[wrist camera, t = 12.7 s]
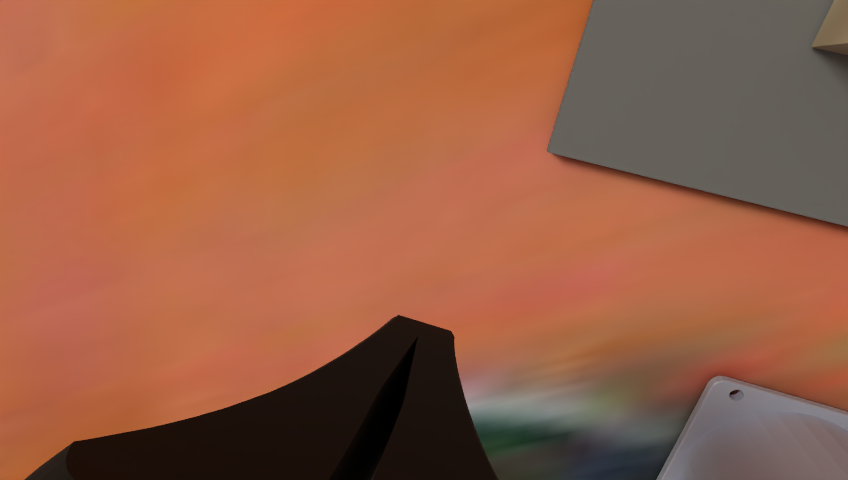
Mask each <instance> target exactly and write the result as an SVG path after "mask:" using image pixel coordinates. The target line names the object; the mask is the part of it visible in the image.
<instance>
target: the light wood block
mask: <svg viewBox="0 0 848 480" xmlns="http://www.w3.org/2000/svg"><path fill="white" fill-rule="evenodd" d="M811 47H813V48H818V49H822V50H826V51H831V52H835V53H840V54H844V55H848V0H834V2H833V4H832V6H831V8H830V10H829V12H828V14H827V16H826V18H825V20H824V22H823V24H822V26H821V28H820V30H819V32H818V34H817V36H816V38H815V40H814V42H813V44H812V46H811Z"/></svg>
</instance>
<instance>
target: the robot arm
mask: <svg viewBox="0 0 848 480" xmlns="http://www.w3.org/2000/svg"><path fill="white" fill-rule="evenodd" d="M733 390H739V392H738V393H737V394H734V395H731V394H730V392H731V391H733ZM379 462H380V463H379ZM376 469H377V470H376ZM375 471H376V472H375ZM374 473H375V474H374ZM373 475H374V477H373ZM372 477H373V479H372ZM25 480H498V478H497V476H496V474H495V472H494V470H493V468H492V466H491V464H490V462H489V460H488V458H487V456H486V453H485V451H484V449H483V447H482V444H481V442H480V440H479V437H478V435H477V432H476V429H475V427H474V424H473V421H472V418H471V415H470V413H469V410H468V407H467V403H466V400H465V397H464V393H463V389H462V385H461V382H460V378H459V373H458V369H457V363H456V357H455V349H454V335H453V334H452V332H451V331H449V330H446V329H443V328H439V327H436V326H433V325H429V324H426V323H423V322H420V321H416V320H413V319H410V318H407V317H403V316H400V315H398V316H396V317H394V318H392V319H391V320H390V321H389V322H387V323H386V324H385V325H384V326H383V327H381V328H380V329H379V330H377V331H376V332H375V333H373V334H372V335H371V336H369V337H368V338H367V339H365V340H364V341H362V342H361V343H359V344H358V345H356V346H355V347H353V348H352V349H350V350H349V351H347V352H346V353H344V354H343V355H341V356H339V357H338V358H336V359H334V360H333V361H331V362H329V363H327V364H326V365H324V366H322V367H320V368H319V369H317V370H315V371H313V372H312V373H310V374H308V375H306V376H304V377H302V378H300V379H298V380H296V381H294V382H292V383H289V384H287V385H285V386H283V387H281V388H278V389H276V390H274V391H271V392H269V393H266V394H263V395H261V396H258V397H255V398H252V399H250V400H247V401H244V402H241V403H238V404H236V405H233V406H230V407H227V408H224V409H221V410H217V411H214V412H210V413H207V414H203V415H200V416H197V417H193V418H189V419H185V420H181V421H177V422H173V423H169V424H165V425H160V426H156V427H151V428H147V429H141V430H136V431H131V432H125V433H120V434H115V435H109V436H104V437H99V438H94V439H87V440H81V441H75V442H73V443H72V444H70V445H69V446H68V447H66V448H65V449H63V450H62V451H61V452H59V453H58V454H57V455H55V456H54V457H53V458H51V459H50V460H48V461H47V462H46V463H44V464H43V465H42V466H40V467H39V468H38V469H37V470H35V471H34V472H33V473H32V474H31V475H29V476H28V477H27V478H26V479H25ZM656 480H848V411H844V410H841V409H837V408H834V407H830V406H827V405H823V404H820V403H817V402H813V401H810V400H806V399H803V398H799V397H796V396H792V395H789V394H785V393H782V392H778V391H775V390H771V389H768V388H764V387H761V386H757V385H754V384H750V383H747V382H744V381H740V380H737V379H733V378H730V377H726V376H716V377H714V378H712V379H711V380H710V381H709V382H708V383H707V385H706V387H705V389H704V391H703V393H702V395H701V397H700V398H699V400H698V402H697V404H696V406H695V408H694V410H693V412H692V413H691V415H690V417H689V419H688V421H687V423H686V425H685V427H684V428H683V430H682V432H681V434H680V436H679V438H678V440H677V442H676V444H675V445H674V447H673V449H672V451H671V453H670V455H669V457H668V459H667V460H666V462H665V464H664V466H663V468H662V470H661V472H660V474H659V476H658V477H657V479H656Z"/></svg>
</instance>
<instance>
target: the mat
mask: <svg viewBox="0 0 848 480" xmlns="http://www.w3.org/2000/svg"><path fill="white" fill-rule="evenodd" d="M833 2H834V0H593V2H592V6H591V9H590V12H589V15H588V19H587V22H586V25H585V28H584V31H583V35H582V38H581V41H580V44H579V48H578V51H577V54H576V57H575V60H574V64H573V67H572V70H571V73H570V77H569V80H568V83H567V86H566V89H565V93H564V96H563V99H562V102H561V106H560V109H559V112H558V115H557V118H556V122H555V125H554V128H553V131H552V134H551V138H550V141H549V144H548V147H547V152H549V153H553V154H557V155H561V156H565V157H569V158H573V159H577V160H581V161H585V162H589V163H593V164H597V165H601V166H605V167H609V168H613V169H617V170H621V171H625V172H630V173H634V174H638V175H642V176H646V177H650V178H654V179H658V180H662V181H666V182H670V183H674V184H678V185H682V186H686V187H690V188H694V189H698V190H702V191H706V192H710V193H714V194H718V195H722V196H726V197H731V198H735V199H739V200H743V201H747V202H751V203H755V204H759V205H763V206H767V207H771V208H775V209H779V210H783V211H787V212H791V213H795V214H799V215H803V216H807V217H811V218H815V219H819V220H823V221H827V222H831V223H836V224H840V225H844V226H848V55H844V54H840V53H835V52H831V51H826V50H822V49H818V48H813V47H811V46H812V44H813V42H814V40H815V38H816V36H817V34H818V32H819V30H820V28H821V26H822V24H823V22H824V20H825V18H826V16H827V14H828V12H829V10H830V8H831V6H832V4H833Z"/></svg>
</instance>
